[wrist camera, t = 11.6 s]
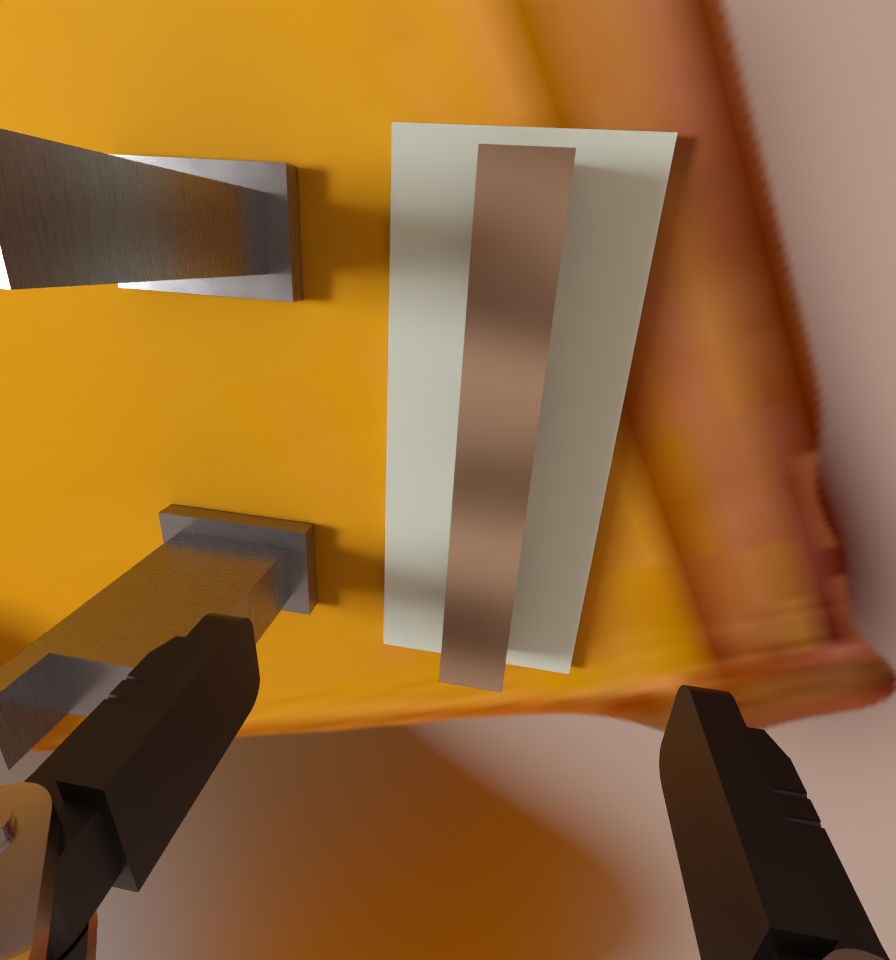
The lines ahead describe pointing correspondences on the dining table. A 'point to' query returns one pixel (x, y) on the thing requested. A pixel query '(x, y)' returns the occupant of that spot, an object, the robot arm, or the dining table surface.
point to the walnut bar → (500, 397)
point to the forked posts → (162, 267)
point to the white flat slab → (568, 378)
